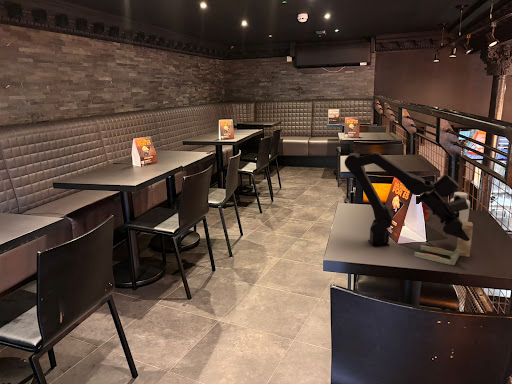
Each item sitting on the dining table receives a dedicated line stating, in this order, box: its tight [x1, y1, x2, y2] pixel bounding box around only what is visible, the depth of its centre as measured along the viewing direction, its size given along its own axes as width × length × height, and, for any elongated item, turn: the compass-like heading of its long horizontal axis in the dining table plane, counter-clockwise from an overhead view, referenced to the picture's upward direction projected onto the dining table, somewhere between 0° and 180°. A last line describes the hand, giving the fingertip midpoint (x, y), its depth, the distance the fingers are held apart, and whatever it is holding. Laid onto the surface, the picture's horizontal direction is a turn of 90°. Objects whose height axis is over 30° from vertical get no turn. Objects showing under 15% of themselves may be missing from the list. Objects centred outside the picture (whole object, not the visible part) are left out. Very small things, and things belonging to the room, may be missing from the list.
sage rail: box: [413, 244, 460, 266], centre depth 136 cm, size 13×8×3 cm, turn 51°
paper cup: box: [420, 194, 430, 221], centre depth 174 cm, size 8×8×14 cm
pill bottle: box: [449, 191, 471, 222], centre depth 163 cm, size 8×8×15 cm
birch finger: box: [455, 221, 474, 257], centre depth 136 cm, size 4×4×12 cm
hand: (467, 235), depth 135 cm, fingers open, 9 cm apart
